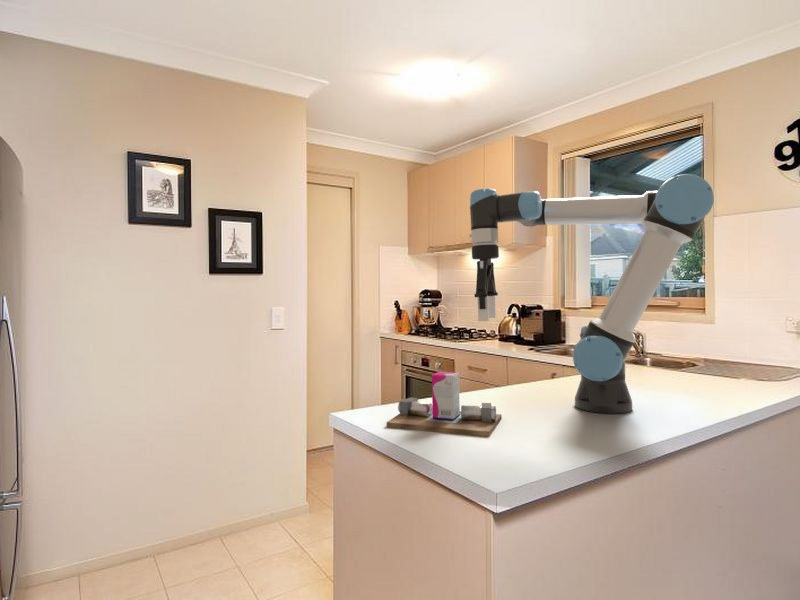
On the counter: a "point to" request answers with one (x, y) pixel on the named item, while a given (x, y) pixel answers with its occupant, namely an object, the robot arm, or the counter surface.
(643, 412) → the counter surface
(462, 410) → the grey collared shaft
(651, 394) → the counter surface
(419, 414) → the shaft
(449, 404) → the supplement box
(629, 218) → the robot arm
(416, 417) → the board
